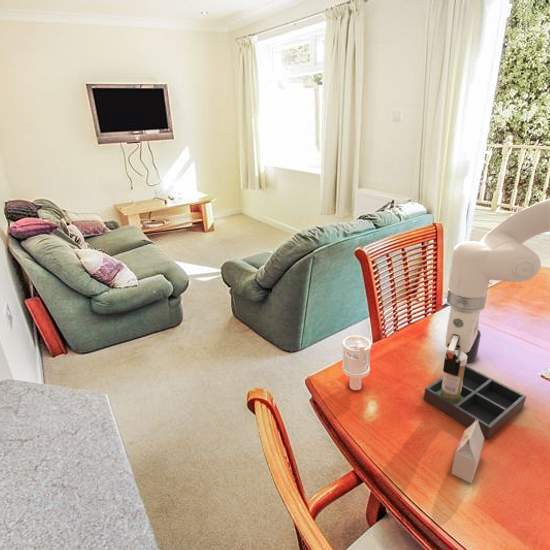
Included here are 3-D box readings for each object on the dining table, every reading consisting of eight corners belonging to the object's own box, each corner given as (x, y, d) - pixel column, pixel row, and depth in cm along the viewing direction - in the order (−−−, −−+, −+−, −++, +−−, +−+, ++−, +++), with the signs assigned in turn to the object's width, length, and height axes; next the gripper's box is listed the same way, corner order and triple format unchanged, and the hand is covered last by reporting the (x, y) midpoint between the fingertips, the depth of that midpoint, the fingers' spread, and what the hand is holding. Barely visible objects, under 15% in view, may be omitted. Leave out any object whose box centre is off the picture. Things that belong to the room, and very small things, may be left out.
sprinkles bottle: (463, 400, 92) (471, 354, 87) (452, 408, 90) (460, 362, 85) (446, 390, 96) (453, 346, 91) (435, 398, 94) (442, 353, 88)
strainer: (347, 397, 97) (348, 348, 91) (338, 379, 103) (339, 333, 97) (373, 393, 97) (375, 344, 91) (363, 376, 104) (365, 329, 98)
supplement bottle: (451, 347, 114) (456, 313, 109) (476, 352, 111) (483, 317, 106) (449, 360, 108) (455, 324, 103) (476, 365, 105) (483, 329, 100)
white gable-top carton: (479, 459, 78) (487, 423, 74) (471, 483, 73) (479, 445, 69) (460, 451, 80) (467, 415, 76) (451, 473, 75) (458, 436, 71)
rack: (523, 407, 90) (526, 396, 89) (487, 439, 82) (490, 427, 81) (460, 373, 102) (462, 363, 101) (423, 399, 94) (425, 388, 93)
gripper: (476, 319, 73) (464, 389, 80) (493, 287, 86) (481, 349, 93) (436, 310, 78) (428, 376, 85) (458, 280, 90) (449, 340, 97)
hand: (456, 362), depth 89 cm, fingers open, 9 cm apart
